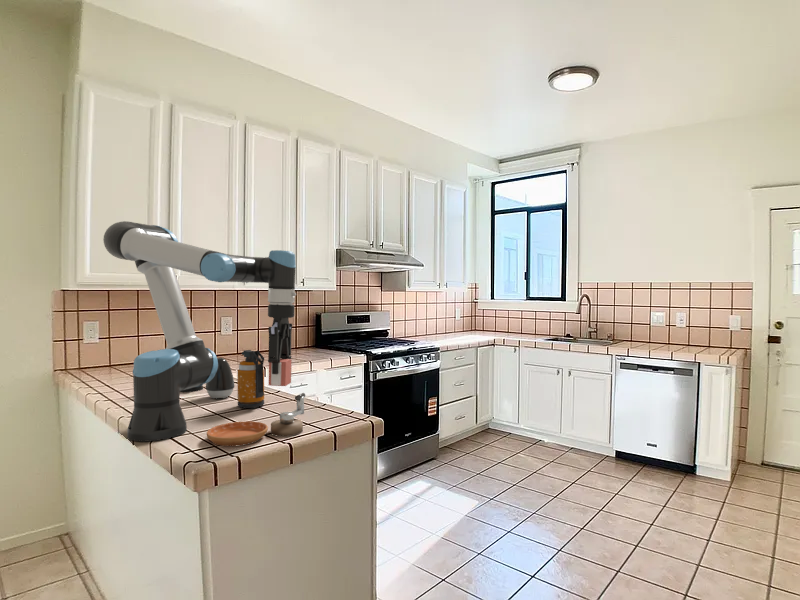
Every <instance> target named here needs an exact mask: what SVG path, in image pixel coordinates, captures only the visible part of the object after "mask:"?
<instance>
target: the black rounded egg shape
mask: <svg viewBox="0 0 800 600" xmlns="http://www.w3.org/2000/svg"><path fill="white" fill-rule="evenodd" d="M217 360H218V368H217V372H216V373H215V376H214V377H213V379H212V380H211V381H209V382H208V383H206V384H205V390H206V392H207V394H208V396H209V397H210V398H212V399H214V398H216V400H218V399H217V398H223V399H227V398H229V397H230V396H231V395H232V393H234V392H233V391H234V388H235V380H234V376H233V371H232V368H231V366H230V363H229V362H228V360H227V359H226V358H223V357H217ZM228 396H229V397H228ZM226 397H227V398H226Z"/></svg>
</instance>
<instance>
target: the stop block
mask: <svg viewBox="0 0 800 600" xmlns="http://www.w3.org/2000/svg"><path fill="white" fill-rule="evenodd" d="M280 362H281V363H282V365H281V385H271V363H270V362H268V386H269V387H270V386H271V387H272V386H273V387H274V386H276V387H286V386H288V385H290V384H291V383H292V358H291V359H280Z"/></svg>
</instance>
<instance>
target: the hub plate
mask: <svg viewBox="0 0 800 600" xmlns="http://www.w3.org/2000/svg"><path fill="white" fill-rule="evenodd" d="M303 426H304V422H303V420H301V419H298V418H294V422H293V423H290V424H281V423H280V419H277V420H274V421H272V422H271V423H270V434H271V435H272V434H273V436H275V435H277V436H276V437H291V436H297V435H299V434H301V433H303V429H304V427H303Z"/></svg>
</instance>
